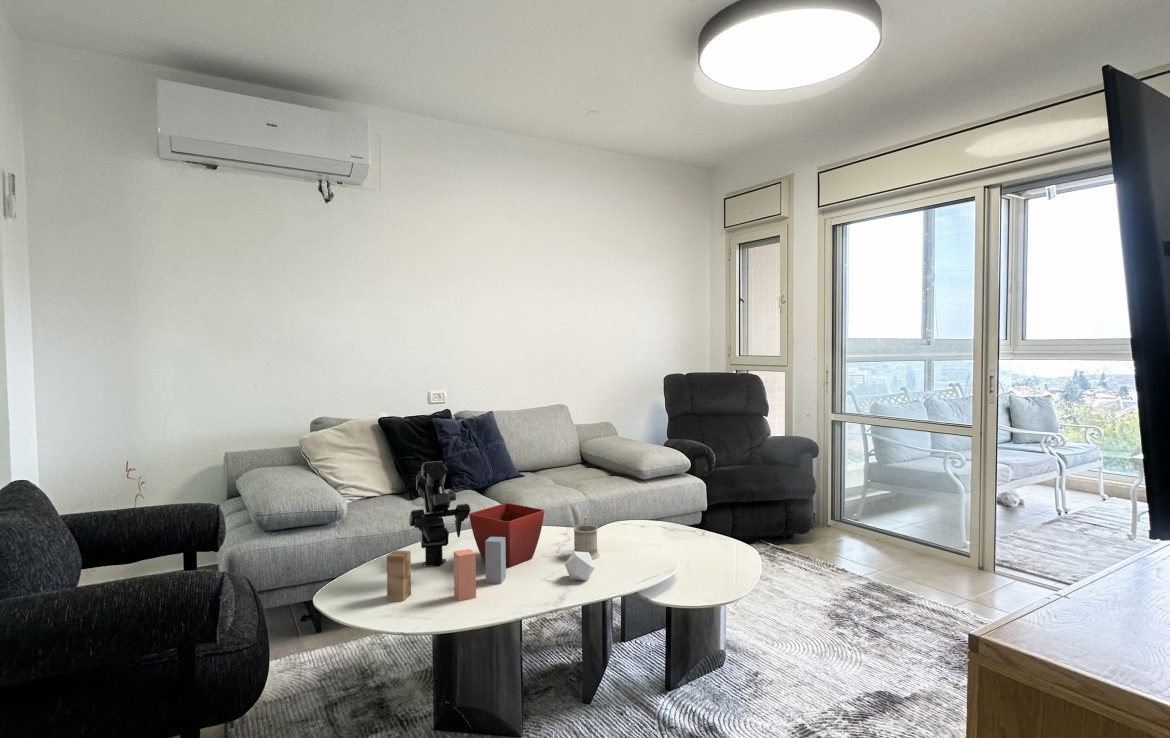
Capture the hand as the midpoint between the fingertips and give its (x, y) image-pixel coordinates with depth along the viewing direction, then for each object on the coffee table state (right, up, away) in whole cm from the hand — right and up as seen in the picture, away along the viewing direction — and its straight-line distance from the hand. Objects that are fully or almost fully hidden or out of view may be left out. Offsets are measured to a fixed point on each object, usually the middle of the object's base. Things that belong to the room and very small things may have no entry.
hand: (444, 538), depth 189 cm
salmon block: (+9, -13, -13) cm, 21 cm away
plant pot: (+17, -13, +20) cm, 30 cm away
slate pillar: (+16, -13, 0) cm, 21 cm away
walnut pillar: (-10, -14, -13) cm, 21 cm away
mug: (+44, -13, +26) cm, 53 cm away
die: (+43, -13, +1) cm, 45 cm away
